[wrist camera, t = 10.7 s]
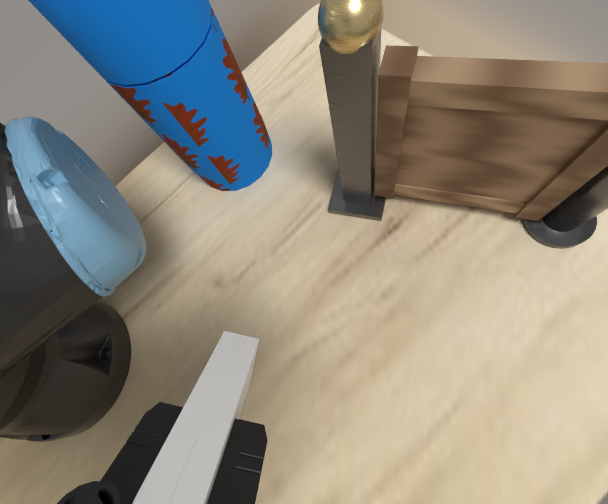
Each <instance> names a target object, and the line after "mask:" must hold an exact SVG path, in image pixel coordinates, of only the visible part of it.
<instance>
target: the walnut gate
mask: <svg viewBox="0 0 608 504" xmlns="http://www.w3.org/2000/svg"><path fill="white" fill-rule="evenodd" d="M417 52H418V47H417V46H386V48H385V52H384V55H383V59H382V63H381V67H380V70H379V74H378V98H377V129H376V160H375V191H374V196H380V197H386V198H393V195H399V196H405V197H412V198H418V199H425V200H432V201H438V202H445V203H451V204H458V205H464V206H471V207H477V208H484V209H490V210H497V211H503V212H510V213H515V217H514V218H521V219H527V220H534V221H538V220H540V219H541V218H542V217H543V216H545V215H546V214H547V213H548V212H550V211H551V210H552V209H554V208H555V207H556V206H557V205H559V204H560V203H561V202H562V201H564V200H565V199H566V198H567V197H569V196H570V195H571V194H573V193H574V192H575V191H576V190H578V189H579V188H580V187H581V186H583V185H584V184H585V183H586V182H588V181H589V180H590V179H591V178H593V177H594V176H595V175H597V174H598V173H599V172H600V171H602V170H603V169H604V168H605V167H607V166H608V63H585V62H559V61H558V62H556V61H532V60H506V59H504V60H503V59H479V58H478V59H477V58H452V57H428V56H417Z"/></svg>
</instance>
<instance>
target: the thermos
mask: <svg viewBox="0 0 608 504" xmlns="http://www.w3.org/2000/svg"><path fill="white" fill-rule="evenodd" d="M29 1H30V2H31V3H32V4H33V5H34V7H35V8H36V9H37V10H38V11H39V12H40V13H41V14H42V15H43V16H44V17H45V18H46V19H47V20H48V21H49V22H50V23H51V24H52V25H53V26H54V27H55V28H56V29H57V30H58V31H59V32H60V33H61V34H62V36H63V37H64V38H65V39H66V40H67V41H68V42H69V43H70V44H71V45H72V46H73V47H74V48H75V49H76V50H77V51H78V52H79V53H80V54H81V55H82V56H83V57H84V58H85V60H86V61H87V62H88V63H89V64H90V65H91V66H92V67H93V68H94V69H95V70H96V71H97V72H98V73H99V74H100V75H101V76H102V77H103V78H104V79H105V80H106V81H107V82H108V83H109V84H110V85H111V86H112V88H113V89H114V90H115V91H117V93H118V94H119V95H120V96H121V97H122V98H123V99H124V100H125V101H126V102H127V103H128V104H129V105H130V106H131V107H132V108H133V109H134V110H135V111H136V113H138V115H139V116H140V117H141V118H142V119H143V120H144V121H145V122H146V123H147V124H148V125H149V126H150V127H151V128H152V129H153V130H154V131H155V132H156V133H157V134H158V135H159V136H160V137H161V138H162V140H164V142H165V143H166V144H167V145H168V146H169V147H170V148H171V149H172V150H173V151H174V152H175V153H176V154H177V155H178V156H179V157H180V158H181V159H182V160H183V161H184V162H185V163H186V164H187V165H188V166H189V167H190V168H191V169H192V170H193V171H194V172H195V173H196V174H198V175H199V176H200V177H201V178H202V179H203V180H204V181H205V182H206V183H207V184H209V185H210V186H211V187H213V188H216V189H219V190H222V191H235V190H239V189H241V188H244V187H247V186H249V185H251V184H252V183H253V182H255V181H256V180H257V179H259V178H260V177H261V176H262V174H263V173H264V172H265V170H266V169H267V167H268V166H269V163H270V160H271V156H272V145H271V140H270V138H269V135H268V132H267V130H266V127H265V124H264V122H263V119H262V117H261V115H260V113H259V111H258V108H257V106H256V104H255V102H254V99H253V97H252V95H251V93H250V91H249V88H248V86H247V84H246V82H245V80H244V77H243V75H242V73H241V71H240V69H239V66H238V64H237V62H236V60H235V58H234V56H233V53H232V51H231V49H230V47H229V45H228V42H227V40H226V38H225V36H224V33H223V32H222V29H221V27H220V25H219V22H218V20H217V18H216V16H215V14H214V11H213V9H212V8H211V5H210V3H209V0H29Z"/></svg>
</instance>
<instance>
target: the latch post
mask: <svg viewBox="0 0 608 504" xmlns="http://www.w3.org/2000/svg"><path fill="white" fill-rule="evenodd" d="M382 21H383V3H382V0H321V3H320V6H319V11H318V26H319V31H320V34H321V37H322V39H321V42H320V45H319V48H320V54H321V60H322V66H323V72H324V79H325V85H326V91H327V97H328V103H329V109H330V116H331V122H332V128H333V134H334V140H335V146H336V153H337V159H338V165H339V171H338V175H337V179H336V183H335V186H334V190H333V194H332V198H331V202H330V206H329V213H334V214H340V215H346V216H353V217H359V218H366V219H372V220H378V221H381V220H382V215H383V210H384V205H385V201H386V197H380V196H374V191H375V160H376V129H377V98H378V74H379V70H380V49H381V25H382Z"/></svg>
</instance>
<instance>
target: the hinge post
mask: <svg viewBox="0 0 608 504" xmlns="http://www.w3.org/2000/svg"><path fill="white" fill-rule="evenodd" d="M606 209H608V166H607V167H605V168H604V169H603V170H602V171H600V172H599V173H598V174H597V175H595V176H594V177H593V178H591V179H590V180H589V181H588V182H586V183H585V184H584V185H583V186H581V187H580V188H579V189H578V190H576V191H575V192H574V193H573V194H571V195H570V196H569V197H567V198H566V199H565V200H564V201H562V202H561V203H560V204H559V205H557V206H556V207H555V208H554V209H552V210H551V211H550V212H548V213H547V214H546V215H545V216H543V217H542V218H541V219H540V220H538V221H534V220H527V219H522V220H523V224H524V227H525V229H526V231H527V232H528V233H529V235H530V236H531V237H532V238H534V239H535V240H536V241H538V242H539V243H541V244H543V245H546V246H549V247H553V248H570V247H574V246H576V245H578V244H580V243H582V242H584V241H586V240H587V239H588V238H590V237H591V236H592V234H593V233H594V231H595V229H596V225H597V217H596V215H598V214H600V213H601V212H603V211H604V210H606Z"/></svg>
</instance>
